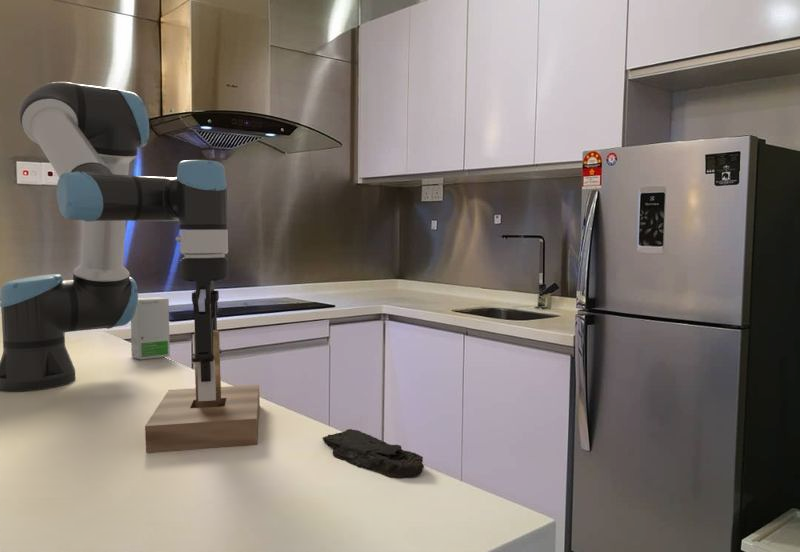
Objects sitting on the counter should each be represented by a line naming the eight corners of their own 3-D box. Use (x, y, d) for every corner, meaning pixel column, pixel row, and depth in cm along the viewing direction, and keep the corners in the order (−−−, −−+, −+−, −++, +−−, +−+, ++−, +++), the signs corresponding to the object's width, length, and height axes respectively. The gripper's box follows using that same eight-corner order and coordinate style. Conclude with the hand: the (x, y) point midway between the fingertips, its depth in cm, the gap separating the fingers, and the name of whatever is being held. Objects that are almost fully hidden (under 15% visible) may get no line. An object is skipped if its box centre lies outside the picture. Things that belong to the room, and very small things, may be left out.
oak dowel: (197, 412, 106) (195, 330, 105) (222, 410, 107) (220, 329, 106) (195, 419, 102) (192, 334, 101) (220, 417, 103) (218, 333, 102)
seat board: (169, 411, 114) (168, 389, 114) (259, 405, 117) (259, 384, 117) (145, 452, 92) (144, 426, 92) (257, 444, 96) (256, 418, 95)
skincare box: (139, 360, 161) (136, 300, 160) (130, 357, 166) (128, 298, 165) (171, 356, 166) (169, 297, 165) (162, 352, 171) (160, 296, 170)
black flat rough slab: (305, 445, 96) (305, 425, 96) (346, 435, 101) (346, 416, 101) (391, 491, 79) (391, 468, 79) (436, 476, 83) (436, 454, 83)
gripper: (187, 254, 110) (191, 385, 112) (172, 258, 94) (177, 412, 95) (231, 254, 112) (234, 383, 113) (224, 257, 95) (228, 409, 97)
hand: (208, 396), depth 104 cm, fingers closed on oak dowel, 4 cm apart
